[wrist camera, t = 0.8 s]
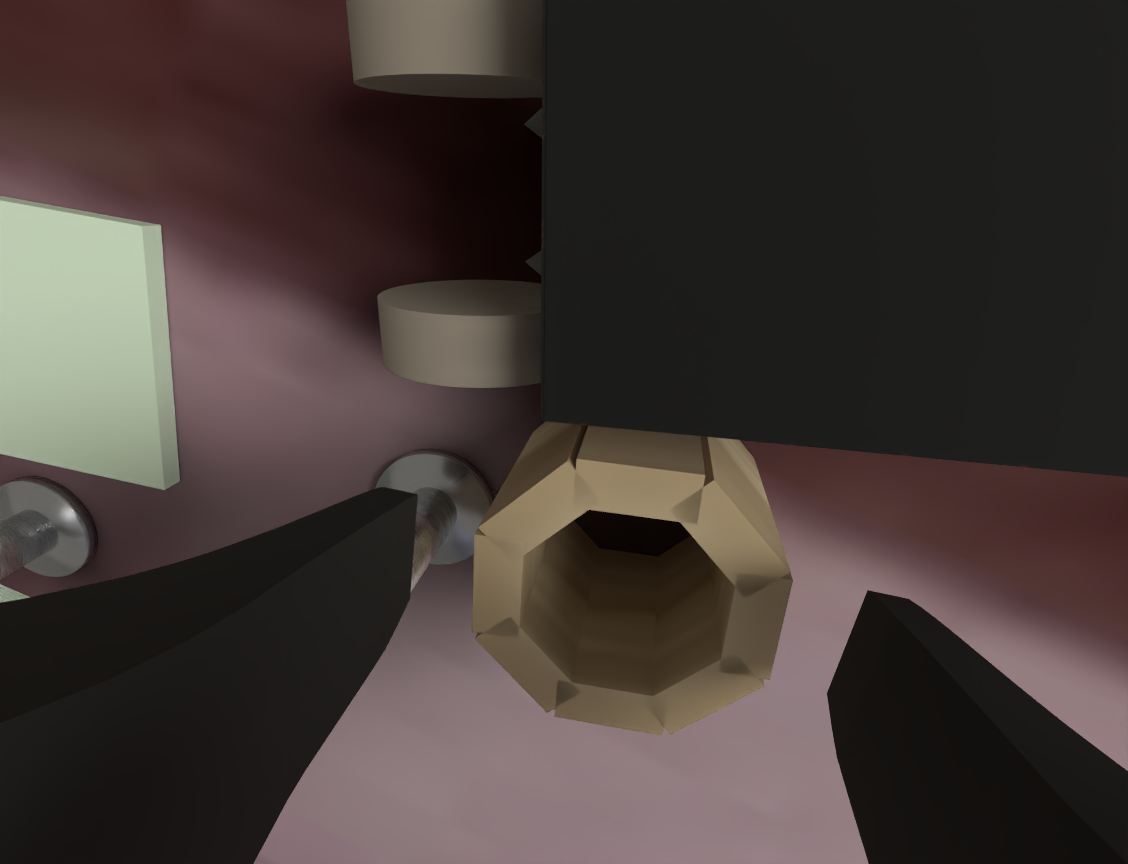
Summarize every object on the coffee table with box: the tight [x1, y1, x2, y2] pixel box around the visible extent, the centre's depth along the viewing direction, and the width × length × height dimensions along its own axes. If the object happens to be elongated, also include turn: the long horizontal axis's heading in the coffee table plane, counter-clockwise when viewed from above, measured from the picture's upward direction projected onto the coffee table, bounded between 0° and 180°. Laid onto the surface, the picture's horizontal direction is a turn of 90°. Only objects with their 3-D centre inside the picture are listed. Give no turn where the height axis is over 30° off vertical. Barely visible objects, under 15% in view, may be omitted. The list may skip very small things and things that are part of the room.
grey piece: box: [0, 449, 494, 603], centre depth 17 cm, size 8×15×4 cm, turn 81°
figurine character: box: [346, 0, 1128, 477], centre depth 10 cm, size 7×8×15 cm
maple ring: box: [472, 422, 793, 735], centre depth 14 cm, size 6×6×5 cm
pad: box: [0, 196, 180, 490], centre depth 17 cm, size 7×7×1 cm
